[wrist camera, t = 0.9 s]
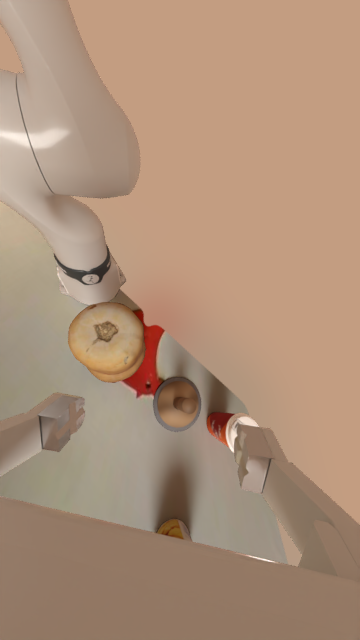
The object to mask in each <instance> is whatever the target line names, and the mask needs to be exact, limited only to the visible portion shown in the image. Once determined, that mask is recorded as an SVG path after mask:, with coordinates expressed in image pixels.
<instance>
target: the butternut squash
mask: <svg viewBox="0 0 360 640" xmlns="http://www.w3.org/2000/svg"><path fill="white" fill-rule="evenodd" d="M68 344H69V347H70V349H71V351H72V353H73V355H74V356H75V358H76V359H77V360H78V361H80V362H81V363H82V364H83V365H85V366H86V367H87V368H88V370H89V371H90V372H91V373H92V374H93V375H94V376H95V377H97V378H98V379H100V380H101V381H104V382H112V383H115V382H117V381H121V380H124V379H126V378H128V377H130V376H132V375H133V374H134V373H135V372H136V371H137V370H138V368H139V367H140V365H141V364H142V361H143V359H144V357H145V350H146V348H145V342H144V328H143V324H142V322H141V321H140V320H139V319H138V317H137V316H136V315H135V314H134V313H133V311H132V310H131V309H129V308H128V307H127V306H125V305H123V304H120V303H112V302H101V303H97V304H93V305H90V306H88V307H87V308H85V309H84V310H83V311H81V312H80V313H79V314H78V315H77V316H76V317H75V319H74V320H73V321H72V323H71V325H70V327H69V335H68Z"/></svg>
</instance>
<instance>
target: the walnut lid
mask: <svg viewBox="0 0 360 640" xmlns="http://www.w3.org/2000/svg"><path fill="white" fill-rule="evenodd" d="M198 405H199V402H198V397H197V394H196V392H195V390H194V389H193V387H192V386H191V385H189V384H188V383H186V382H183V381H174V382H171V383H169V384H167V385H166V386H165V387H164V388H163V389H162V391H161V392H160V394H159V397H158V402H157V407H158V412H159V415H160V417H161V418H162V420H163V421H164V422H165V423H166V424H168V425H169V426H172V427H176V428H179V427H184V426H186V425H188V424H189V423H191V422H192V421H193V419H194V418H195V416H196V414H197V411H198Z"/></svg>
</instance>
